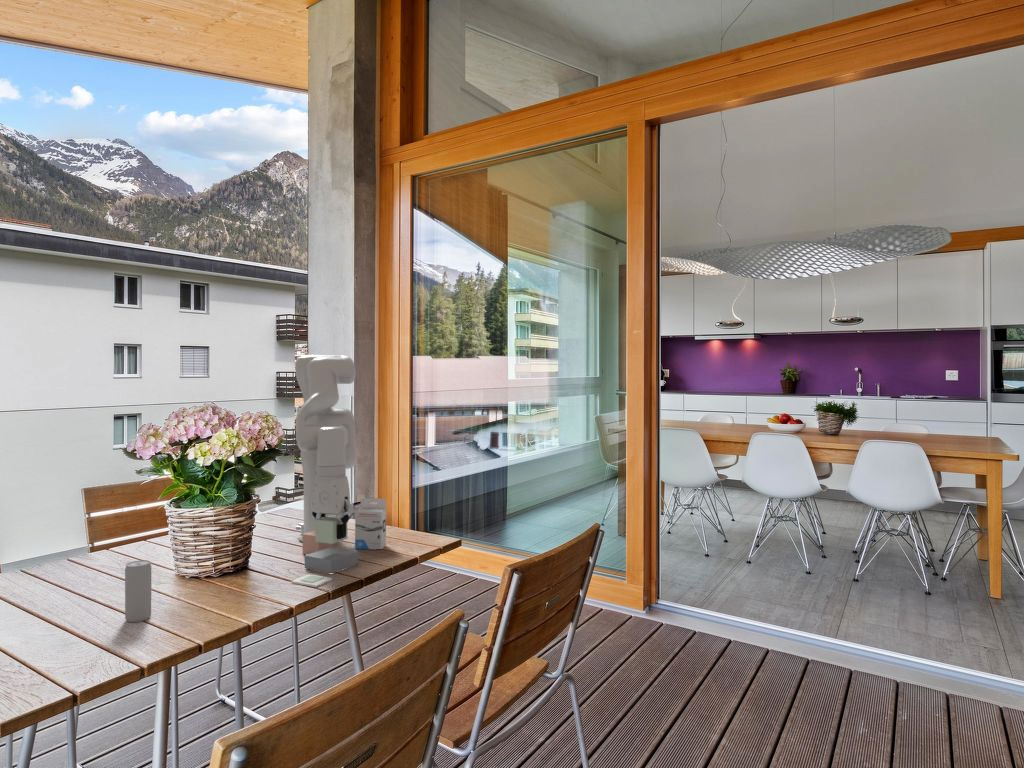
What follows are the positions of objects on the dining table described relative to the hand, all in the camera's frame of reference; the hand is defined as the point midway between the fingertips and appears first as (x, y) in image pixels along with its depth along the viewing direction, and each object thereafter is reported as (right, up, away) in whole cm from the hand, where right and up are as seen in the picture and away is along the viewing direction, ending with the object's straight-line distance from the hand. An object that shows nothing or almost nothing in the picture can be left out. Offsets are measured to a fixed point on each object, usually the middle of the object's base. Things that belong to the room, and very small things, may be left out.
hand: (331, 536), depth 166 cm
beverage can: (-31, -9, -37) cm, 48 cm away
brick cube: (-8, -8, +14) cm, 18 cm away
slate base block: (0, -9, 0) cm, 9 cm away
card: (-1, -8, -12) cm, 15 cm away
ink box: (+6, -9, +19) cm, 22 cm away
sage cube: (0, -1, 0) cm, 1 cm away
